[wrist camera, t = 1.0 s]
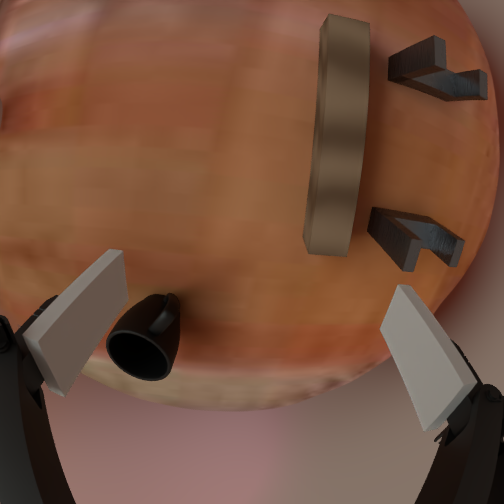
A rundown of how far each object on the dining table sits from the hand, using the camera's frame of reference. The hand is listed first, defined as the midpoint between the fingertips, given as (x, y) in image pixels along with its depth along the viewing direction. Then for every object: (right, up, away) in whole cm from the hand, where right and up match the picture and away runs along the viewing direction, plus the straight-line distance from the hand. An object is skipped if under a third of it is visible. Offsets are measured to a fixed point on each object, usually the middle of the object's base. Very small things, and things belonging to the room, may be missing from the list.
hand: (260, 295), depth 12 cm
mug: (-12, -5, +24) cm, 27 cm away
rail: (+8, +15, +14) cm, 22 cm away
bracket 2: (+17, +5, +18) cm, 25 cm away
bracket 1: (+19, +22, +10) cm, 31 cm away
